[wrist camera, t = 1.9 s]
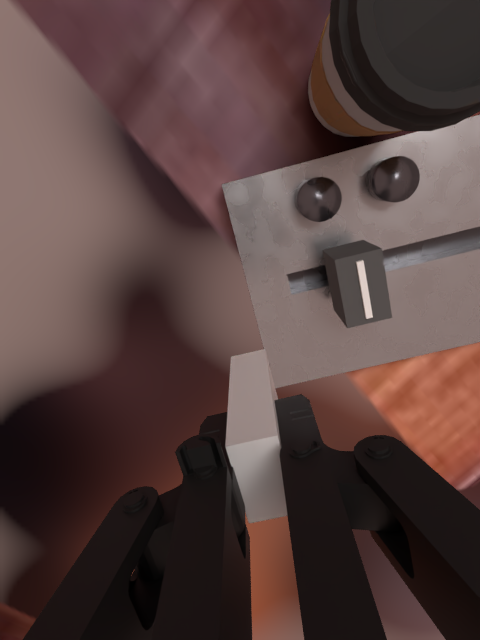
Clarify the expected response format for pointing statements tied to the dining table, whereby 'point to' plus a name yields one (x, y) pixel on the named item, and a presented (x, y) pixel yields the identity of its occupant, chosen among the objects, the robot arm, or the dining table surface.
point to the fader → (358, 283)
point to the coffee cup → (396, 66)
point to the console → (376, 228)
